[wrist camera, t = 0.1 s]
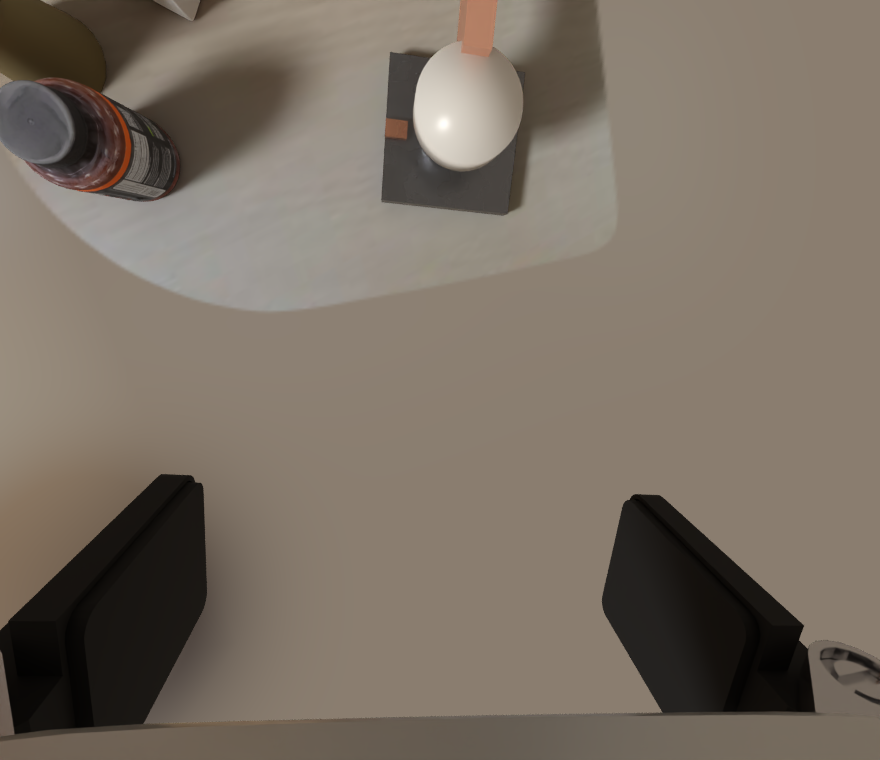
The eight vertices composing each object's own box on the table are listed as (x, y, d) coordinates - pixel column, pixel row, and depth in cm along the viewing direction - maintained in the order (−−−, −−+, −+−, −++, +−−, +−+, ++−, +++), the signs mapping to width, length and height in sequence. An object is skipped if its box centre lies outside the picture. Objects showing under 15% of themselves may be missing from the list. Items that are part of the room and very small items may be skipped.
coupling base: (390, 60, 35) (389, 18, 28) (519, 79, 36) (546, 43, 30) (381, 202, 37) (379, 192, 31) (503, 215, 39) (524, 208, 32)
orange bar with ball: (504, 176, 31) (519, 166, 27) (409, 165, 30) (411, 153, 27) (539, -112, 27) (563, -171, 23) (430, -133, 26) (437, -199, 23)
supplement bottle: (86, 175, 35) (-52, 141, 24) (116, 99, 34) (-14, 27, 23) (165, 218, 36) (68, 205, 25) (196, 147, 35) (109, 100, 24)
